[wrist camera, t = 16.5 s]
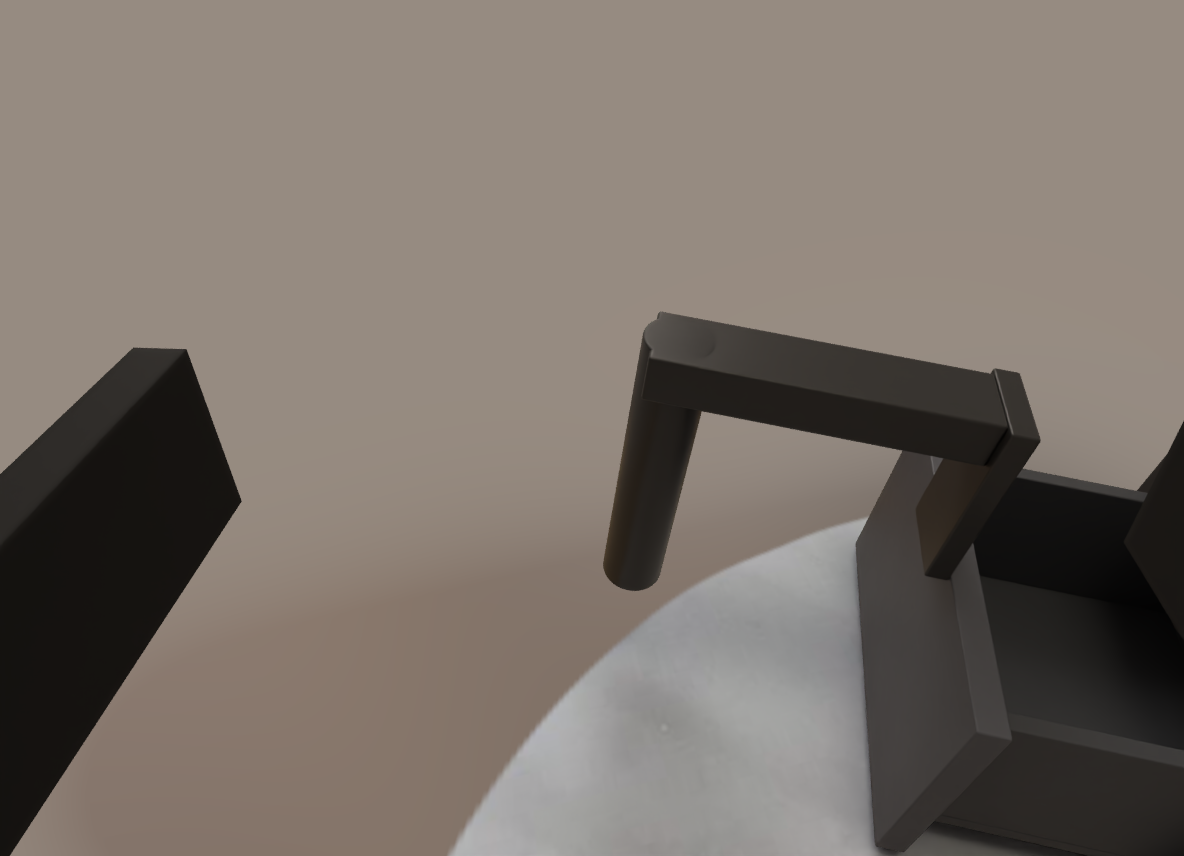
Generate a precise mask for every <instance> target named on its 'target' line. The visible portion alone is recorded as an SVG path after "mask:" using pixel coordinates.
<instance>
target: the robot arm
mask: <svg viewBox="0 0 1184 856" xmlns="http://www.w3.org/2000/svg"><path fill="white" fill-rule="evenodd" d="M240 503H241V498H240V495H239V493H238V490H237V487H236V485H235V482H234V479H233V476H232V474H231V471H230V468H229V465H228V463H227V460H226V457H225V454H224V451H223V449H222V446H221V443H220V441H219V438H218V435H217V432H216V429H215V427H214V424H213V421H212V418H211V416H210V413H209V410H208V407H207V405H206V402H205V400H204V396H203V394H202V391H201V388H200V385H199V383H198V380H197V377H196V374H195V371H194V369H193V366H192V363H191V360H190V358H189V355H188V352H187V350H186V349H158V348H133V349H132V350H131V351H129V352H128V353H127V354H126V355H125V356H124V357H123V358H122V359H121V360H120V361H119V362H118V363H117V364H116V365H115V366H114V367H113V368H112V369H111V370H110V371H108V372H107V373H106V374H105V375H104V376H103V377H102V378H101V379H100V380H99V381H98V382H97V383H96V384H95V385H94V386H93V387H92V388H91V389H89V390H88V391H87V393H85V394H84V395H83V396H82V397H81V398H80V399H79V400H78V401H77V402H76V403H75V404H74V405H73V406H72V407H71V408H69V410H67V412H65V413H64V414H63V415H62V416H61V417H60V418H59V419H58V420H57V421H56V422H55V423H54V424H53V425H52V426H51V427H50V428H48V429H47V430H46V431H45V432H44V433H43V434H42V435H41V436H40V437H39V438H38V439H37V440H36V441H35V442H34V443H33V444H32V445H31V446H30V447H28V449H26V450H25V451H24V452H23V453H22V454H21V455H20V456H19V457H18V458H17V459H16V460H15V461H14V462H13V463H12V464H11V465H10V466H8V467H7V468H6V469H5V470H4V471H3V472H2V473H1V474H0V856H10V855H11V853H12V852H13V850H14V848H15V847H16V845H17V844H18V842H19V841H20V839H21V838H22V836H23V835H24V833H25V832H26V830H27V829H28V827H29V826H30V824H31V822H32V821H33V819H34V818H35V816H36V815H37V813H38V812H39V810H40V809H41V807H42V806H43V804H44V802H45V801H46V799H47V798H48V797H49V795H50V793H51V792H52V790H53V789H54V787H55V786H56V784H57V783H58V781H59V779H60V778H61V777H62V775H63V774H64V772H65V771H66V769H67V767H68V766H69V764H70V763H71V761H72V760H73V758H74V757H75V755H76V754H77V752H78V751H79V749H80V747H81V746H82V745H83V743H84V741H85V740H86V738H87V737H88V735H89V734H90V732H91V731H92V729H93V728H94V726H95V725H96V723H97V722H98V720H99V719H100V717H101V715H102V714H103V712H104V711H105V709H106V708H107V706H108V705H109V703H110V702H111V700H112V699H113V697H114V696H115V694H116V692H117V691H118V689H119V688H120V686H121V685H122V683H123V682H124V680H125V679H126V677H127V676H128V674H129V673H130V671H131V670H132V668H133V667H134V665H135V664H136V662H137V660H138V659H139V657H140V656H141V654H142V653H143V651H144V650H145V648H146V647H147V645H148V643H149V642H150V641H151V639H152V638H153V636H154V635H155V633H156V631H157V630H158V628H159V627H160V625H161V624H162V622H163V621H164V619H165V618H166V616H167V615H168V613H169V612H170V610H171V608H172V607H173V605H174V604H175V602H176V601H177V599H178V598H179V596H180V595H181V593H182V592H183V590H184V589H185V587H186V586H187V584H188V583H189V581H190V579H191V578H192V576H193V575H194V573H195V572H196V570H197V569H198V567H199V566H200V564H201V563H202V561H203V560H204V558H205V557H206V555H207V554H208V552H209V550H210V549H211V547H212V546H213V544H214V543H215V541H216V540H217V538H218V537H219V535H220V534H221V532H222V531H223V529H224V528H225V526H226V524H227V523H228V521H229V520H230V518H231V517H232V515H233V514H234V512H235V511H236V509H237V508H238V506H239V504H240ZM1124 544H1125V545H1126V547H1127V549H1128V550H1129V552H1130V553H1131V555H1132V557H1133V558H1134V560H1135V562H1136V563H1137V565H1138V567H1139V568H1140V570H1141V572H1142V573H1143V575H1144V576H1145V578H1146V580H1147V581H1148V583H1149V585H1150V586H1151V588H1152V590H1153V591H1154V593H1155V595H1156V596H1157V598H1158V599H1159V601H1160V603H1161V604H1162V606H1163V608H1164V609H1165V611H1166V613H1167V614H1168V616H1169V618H1170V619H1171V621H1172V622H1173V624H1174V626H1175V627H1176V629H1177V631H1178V632H1179V634H1180V636H1181V637H1182V639H1183V641H1184V422H1183V424H1182V426H1181V428H1180V430H1179V432H1178V434H1177V436H1176V438H1175V440H1174V442H1173V444H1172V446H1171V448H1170V450H1169V452H1168V454H1167V456H1166V458H1165V460H1164V462H1163V464H1162V466H1161V468H1160V470H1159V472H1158V474H1157V476H1156V478H1155V480H1154V482H1153V484H1152V486H1151V488H1150V490H1149V492H1148V494H1147V496H1146V498H1145V500H1144V502H1143V504H1142V506H1141V508H1140V510H1139V512H1138V514H1137V516H1136V518H1135V520H1134V522H1133V524H1132V526H1131V528H1130V530H1129V532H1128V534H1127V536H1126V538H1125V540H1124Z"/></svg>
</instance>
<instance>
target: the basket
mask: <svg viewBox="0 0 1184 856" xmlns="http://www.w3.org/2000/svg"><path fill="white" fill-rule="evenodd" d="M702 411H703V412H709V413H714V414H719V415H724V416H729V417H734V418H739V419H745V420H750V421H755V422H760V423H765V424H770V425H775V426H780V427H785V428H790V429H796V430H800V431H805V432H811V433H816V434H821V435H826V436H831V437H836V438H841V439H846V440H851V441H856V442H862V443H867V444H872V445H877V446H882V447H887V448H892V449H897V450H902V453H901V455H900V457H899V459H898V461H897V463H896V465H895V467H894V469H893V471H892V473H891V475H890V477H889V479H888V481H887V483H886V485H885V487H884V489H883V491H882V493H881V495H880V497H879V499H878V501H877V502H876V505H875V507H874V508H873V510H872V512H871V514H870V516H869V518H868V520H867V522H866V524H865V526H864V528H863V530H862V532H861V534H860V536H859V538H858V540H857V542H856V556H857V571H858V587H859V602H860V617H861V633H862V648H863V664H864V679H865V695H866V710H867V726H868V741H869V756H870V772H871V787H872V803H873V818H874V834H875V845H876V846H877V847H882V848H886V849H890V850H895V851H899V852H904V851H905V850H906V849H907V848H908V847H909V846H910V845H911V844H912V843H913V842H914V841H915V840H916V839H917V838H918V837H919V836H920V835H921V834H922V833H923V832H924V831H925V830H926V829H927V828H928V827H929V826H930V825H931V824H932V823H933V822H934V821H937V822H941V823H946V824H950V825H955V826H959V827H964V828H968V829H972V830H977V831H981V832H986V833H990V834H995V835H999V836H1004V837H1008V838H1012V839H1017V840H1021V841H1026V842H1030V843H1035V844H1039V845H1043V846H1048V847H1052V848H1057V849H1061V850H1066V851H1070V852H1074V853H1079V854H1083V855H1088V856H1184V641H1183V639H1182V637H1181V636H1180V634H1179V632H1178V631H1177V629H1176V627H1175V626H1174V624H1173V622H1172V621H1171V619H1170V618H1169V616H1168V614H1167V613H1166V611H1165V609H1164V608H1163V606H1162V604H1161V603H1160V601H1159V599H1158V598H1157V596H1156V595H1155V593H1154V591H1153V590H1152V588H1151V586H1150V585H1149V583H1148V581H1147V580H1146V578H1145V576H1144V575H1143V573H1142V572H1141V570H1140V568H1139V567H1138V565H1137V563H1136V562H1135V560H1134V558H1133V557H1132V555H1131V553H1130V552H1129V550H1128V549H1127V547H1126V545H1125V544H1124V540H1125V538H1126V536H1127V534H1128V532H1129V530H1130V528H1131V526H1132V524H1133V522H1134V520H1135V518H1136V516H1137V514H1138V512H1139V510H1140V508H1141V506H1142V504H1143V502H1144V500H1145V498H1146V496H1147V494H1148V493H1144V492H1139V491H1134V490H1128V489H1124V488H1119V487H1114V486H1108V485H1103V484H1098V483H1093V482H1088V481H1083V480H1078V479H1073V478H1068V477H1062V476H1057V475H1052V474H1047V473H1042V472H1037V471H1032V470H1027V469H1023V467H1024V465H1025V464H1026V462H1027V461H1028V459H1029V458H1030V456H1031V455H1032V453H1033V452H1034V450H1035V449H1036V447H1037V446H1038V444H1039V443H1040V436H1039V433H1038V430H1037V427H1036V424H1035V420H1034V417H1033V414H1032V411H1031V408H1030V405H1029V401H1028V398H1027V395H1026V392H1025V389H1024V386H1023V382H1022V379H1021V376H1020V374H1019V373H1017V372H1011V371H1006V370H1001V369H993V371H992V373H991V374H989V373H984V372H979V371H973V370H968V369H962V368H958V367H952V366H947V365H941V364H936V363H931V362H926V361H920V360H915V359H910V358H904V357H899V356H893V355H888V354H883V353H878V352H873V351H866V350H862V349H856V348H851V347H846V346H841V345H835V344H830V343H825V342H819V341H814V340H809V339H803V338H798V337H793V336H788V335H782V334H777V333H771V332H766V331H760V330H756V329H750V328H745V327H740V326H735V325H729V324H724V323H718V322H713V321H708V320H703V319H698V318H692V317H687V316H681V315H676V314H671V313H666V312H659V314H658V317H657V320H655V321H653V322H651V323H650V324H649V325H648V326H647V327H646V328H645V330H644V333H643V338H642V343H641V350H640V355H639V361H638V366H637V372H636V378H635V383H634V389H633V395H632V401H631V407H630V412H629V418H628V424H627V429H626V435H625V441H624V447H623V452H622V458H621V464H620V470H619V476H618V481H617V487H616V493H615V498H614V504H613V510H612V516H611V521H610V527H609V533H608V539H607V545H606V550H605V556H604V562H603V567H604V571H605V574H606V575H607V577H608V578H609V580H610V581H611V582H612V583H613V584H615V585H616V586H618V587H620V588H622V589H626V590H631V591H639V590H643V589H646V588H649V587H650V586H652V585H653V584H654V583H655V582H656V581H657V580H658V578H659V575H660V572H661V568H662V564H663V560H664V556H665V553H666V548H667V544H668V541H669V537H670V533H671V529H672V525H673V521H674V517H675V513H676V510H677V505H678V502H679V498H680V494H681V490H682V486H683V482H684V478H685V474H686V470H687V466H688V463H689V458H690V455H691V451H692V447H693V443H694V439H695V435H696V431H697V427H698V424H699V419H700V416H701V412H702Z"/></svg>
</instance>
